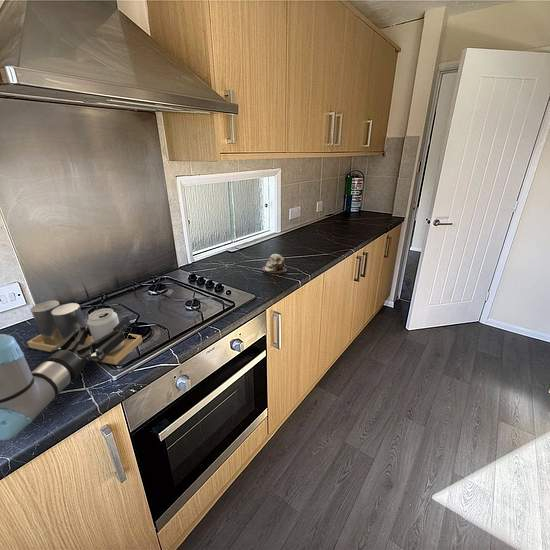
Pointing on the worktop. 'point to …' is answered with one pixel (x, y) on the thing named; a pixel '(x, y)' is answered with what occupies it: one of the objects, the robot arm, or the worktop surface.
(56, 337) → the silver can
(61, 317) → the silver can
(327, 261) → the worktop surface
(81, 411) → the worktop surface
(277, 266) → the skull
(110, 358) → the tray
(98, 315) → the can
